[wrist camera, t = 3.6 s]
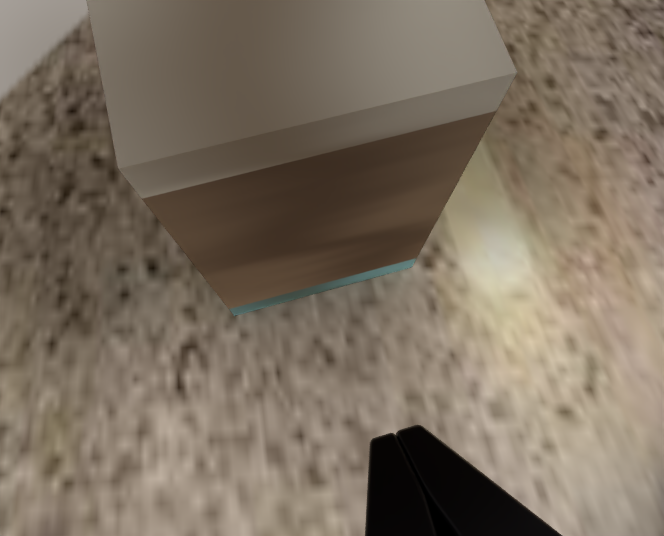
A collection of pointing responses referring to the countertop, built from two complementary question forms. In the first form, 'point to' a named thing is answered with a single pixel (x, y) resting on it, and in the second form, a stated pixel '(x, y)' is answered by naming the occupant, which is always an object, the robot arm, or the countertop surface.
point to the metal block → (297, 129)
